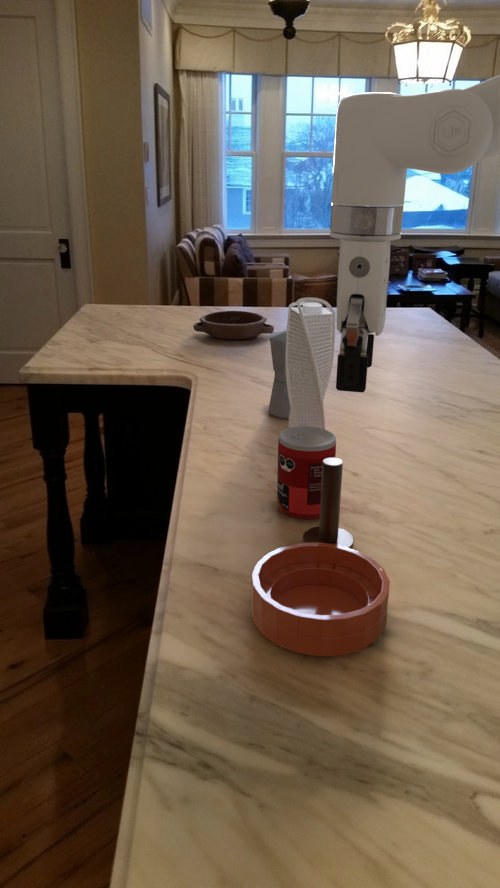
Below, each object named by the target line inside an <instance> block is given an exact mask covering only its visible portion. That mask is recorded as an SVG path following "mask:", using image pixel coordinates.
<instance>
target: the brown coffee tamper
mask: <svg viewBox="0 0 500 888" xmlns="http://www.w3.org/2000/svg"><path fill="white" fill-rule="evenodd" d="M343 465H344V462H343V460H342V459H340V458H338V457H335V458H326V459H324V460H323V464H322V483H321V501H320V517H319V520H318V521H319V522H318V525H317V526H313V527H310V528H309V529H306V531H304V533H303V534H302V539H301V540H302V541H301V543H314V542H320V543H328V544H336V545H340V546H344V547H347V548H350V549H354V545H355V544H354V543H355V538H354V537H353V535H352V534H351V532H349V531H347V529H344V528H341V527H340V514H341V513H340V511H341V499H342V498H341V497H342V496H341V495H342V481H343V480H342V479H343Z"/></svg>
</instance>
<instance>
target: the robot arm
mask: <svg viewBox="0 0 500 888" xmlns="http://www.w3.org/2000/svg"><path fill="white" fill-rule="evenodd" d="M334 132H335V134H334V148H333V149H334V151H333V167H332V189H331V205H330V206H331V207H330V222H329V223H330V225H329V237H330V238H333V239H337V240H339V254H338V270H337V285H336V286H337V288H336V292H337V293H336V330H337V332H339V333H340V334H341V336H340V344H339V353H338V354H337V361H336V379H335V389H336V390H337V391H339V392H350V393H352V392H353V393H365V392H366V388H367V378H368V368H371V367H372V365H373V357H374V356H373V355H374V343H375V342H374V341H375V337H379V336H380V335H382V333H383V331H384V328H385V323H386V313H387V302H388V292H389V291H388V289H389V278H390V268H391V267H390V265H391V241H397V240H400V239H402V226H403V216H404V206H405V196H406V186H407V185H406V184H407V175H408V169H409V170H416V171H423V172H428V173H434V174H439V175H454V174H458V173H461V172H464V171H466V170H468V169H470V168H471V167H473V166H474V165H475V164H477V162H481V161H482V160H486V159H488V158H492V157H493V156H496V155H500V74H498V75H496V76H493V77H490V78H488V79H486V80H483V81H481V82H478V83H475V84H474V85H471V86H469V87H466V88H463V89H461V88H449V89H443V90H440V89H439V90H435V91H429V92H421V93H413V94H412V93H411V94H400V93H395V92H379V91H378V92H376V91H373V92H369V91H367V92H355V93H350V94H347V95H345V96H344V97H342V98H341V100H340V101H339V103H338V105H337V107H336V116H335V130H334ZM374 333H375V334H374Z"/></svg>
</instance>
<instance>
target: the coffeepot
mask: <svg viewBox="0 0 500 888" xmlns="http://www.w3.org/2000/svg"><path fill="white" fill-rule="evenodd" d="M286 334H287V328H286V329H285V328H284V329H277V330H276V331H273V333H269V344H270V345H269V346H270V352H271V362H272V368H273V371H274V378H273V383H272V388H271V393H270V398H269V403H268V404H269V405H268V413H269V414H270V415H272V416H273V417H276V418H280V419H284V420H289V414H290V403H289V397H288V390H287V381H286ZM289 345H290V344H289Z"/></svg>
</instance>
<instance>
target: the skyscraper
mask: <svg viewBox="0 0 500 888" xmlns="http://www.w3.org/2000/svg"><path fill="white" fill-rule="evenodd" d="M323 305H324V306H326V307H327V309H326V308H324V307H323ZM295 306H297V307H295ZM287 312H288V313H287V324H286V329H287V334H286V381H287V390H288V397H289V403H290V414H289V419H288V420H287V421H288V422H287V429H288V428H292V427H301V426H308V427H317V428H321V429H324V430H327V428H326V415H325V407H324V406H325V405H324V400H325V397H326V394H327V390H328V387H329V383H330V378H331V374H332V369H333V363H334V356H335V343H336V342H335V341H336V311H335V309H334V308H333V306H332V305H331V304H330V303H329V302H328V301H326V300H325V299H322V298H320V297H319V298H318V297H301V298H298V299H297V300H296V301H295V302H294V301H293V302H291V303H290V304H289V305H288V311H287ZM289 344H290V345H289Z"/></svg>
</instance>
